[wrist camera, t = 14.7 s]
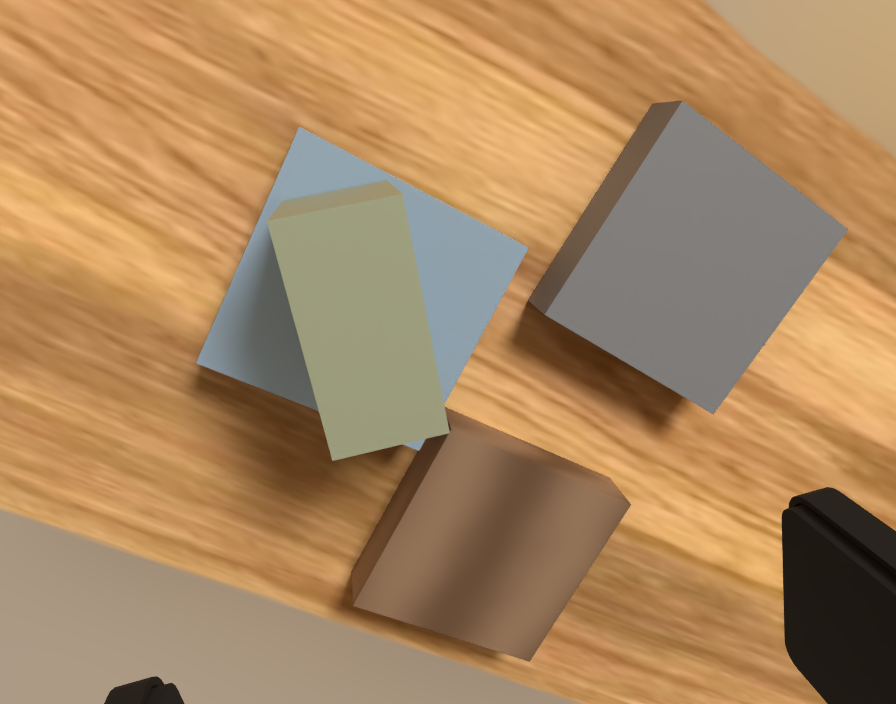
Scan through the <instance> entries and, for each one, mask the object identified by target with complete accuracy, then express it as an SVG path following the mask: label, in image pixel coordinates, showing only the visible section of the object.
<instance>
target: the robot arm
mask: <svg viewBox="0 0 896 704" xmlns="http://www.w3.org/2000/svg"><path fill="white" fill-rule="evenodd" d="M782 549H783V589H784V629H785V645H786V648H787V651H788V654H789V656H790V658H791V660H792V661H793V663H794V665H795V666H796V667H797V669H798V670H799V671H800V672H801V673H802V674H803V676H804V677H805V678H806V679H807V680H808V681H809V682H810V684H811V685H812V686H813V687H814V688H815V689H816V691H817V692H818V693H819V694H820V695H821V696H822V698H823V699H824V700H825V701H826V702H827V703H828V704H896V531H895V530H893V529H892V528H890V527H889V526H888V525H886V524H885V523H883V522H882V521H880V520H879V519H878V518H876V517H875V516H873V515H872V514H871V513H869V512H868V511H866V510H865V509H864V508H862V507H861V506H859V505H858V504H856V503H855V502H854V501H852V500H851V499H849V498H848V497H847V496H845V495H844V494H842V493H841V492H839V491H838V490H836V489H834V488H829V487H826V488H823V489H819V490H816V491H812V492H809V493H805V494H802V495H798V496H795V497H793V498H792V499H791V500H790V502H789V508H788V509H786V510H784V511H783V513H782ZM104 704H184V702H183V700H182V698H181V696H180V694H179V691H178V689H177V688H176V686H175V685H174V684H173V683H169V684H165V685H164V683H163V682H162V680H161V679H160V678H159V677H150V678H147V679H143V680H140V681H136V682H133V683H129V684H126V685H122V686H118V687H115V688H114V689H113V690H111V691H110V693H109V695H108V697H107V699H106V701H105V703H104Z"/></svg>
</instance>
